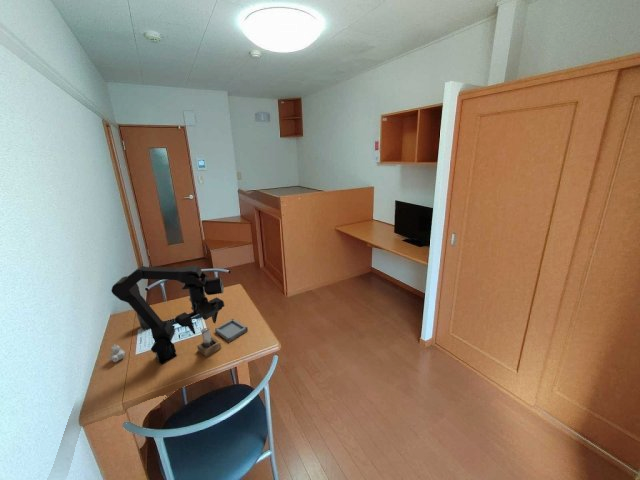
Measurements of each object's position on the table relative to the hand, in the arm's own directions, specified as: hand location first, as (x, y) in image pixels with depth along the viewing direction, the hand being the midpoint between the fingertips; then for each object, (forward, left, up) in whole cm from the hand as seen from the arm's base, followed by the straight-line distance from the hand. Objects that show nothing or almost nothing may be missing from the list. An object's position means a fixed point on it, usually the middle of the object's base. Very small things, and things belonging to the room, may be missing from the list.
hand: (204, 328), depth 118 cm
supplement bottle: (-10, +43, -11) cm, 45 cm away
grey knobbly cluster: (-27, +26, -11) cm, 40 cm away
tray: (+13, +3, -11) cm, 17 cm away
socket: (0, 0, -11) cm, 11 cm away
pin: (0, 0, -11) cm, 11 cm away
